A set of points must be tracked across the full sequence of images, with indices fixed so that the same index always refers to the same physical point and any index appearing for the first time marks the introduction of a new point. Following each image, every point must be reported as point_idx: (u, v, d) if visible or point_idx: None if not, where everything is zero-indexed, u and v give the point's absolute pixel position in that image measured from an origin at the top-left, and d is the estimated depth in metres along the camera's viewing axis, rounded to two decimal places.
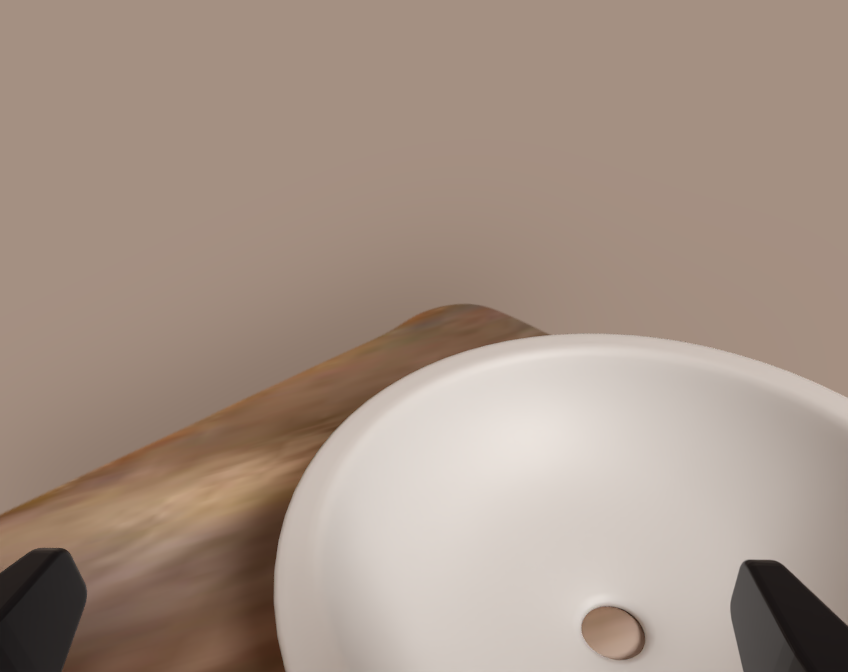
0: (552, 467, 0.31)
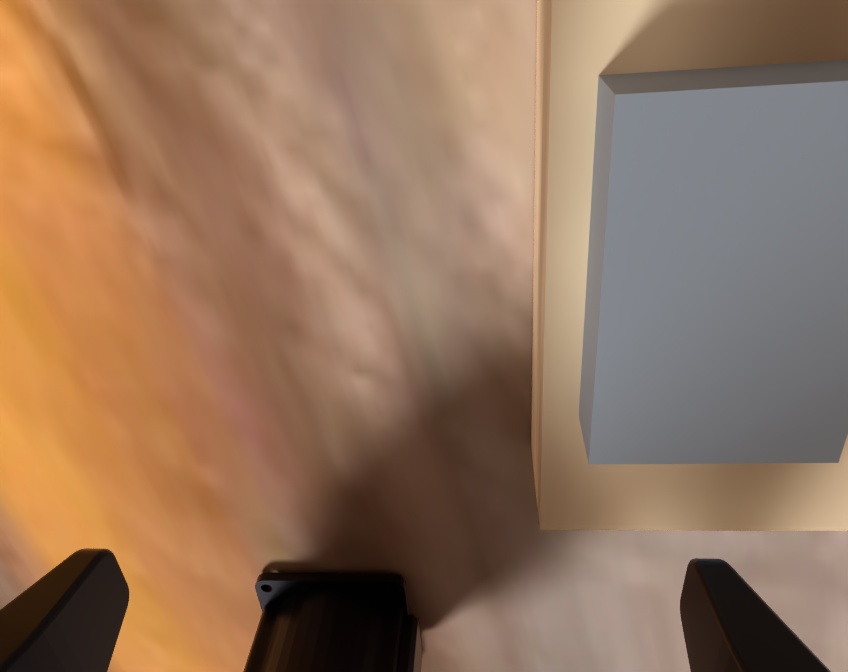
0: None
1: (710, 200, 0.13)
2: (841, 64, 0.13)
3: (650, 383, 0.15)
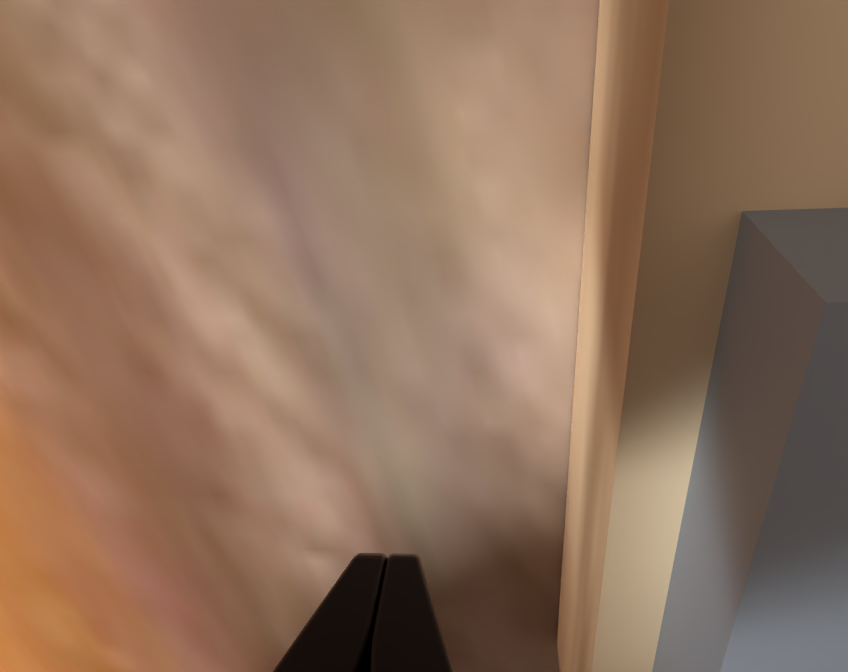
0: None
1: None
2: None
3: None
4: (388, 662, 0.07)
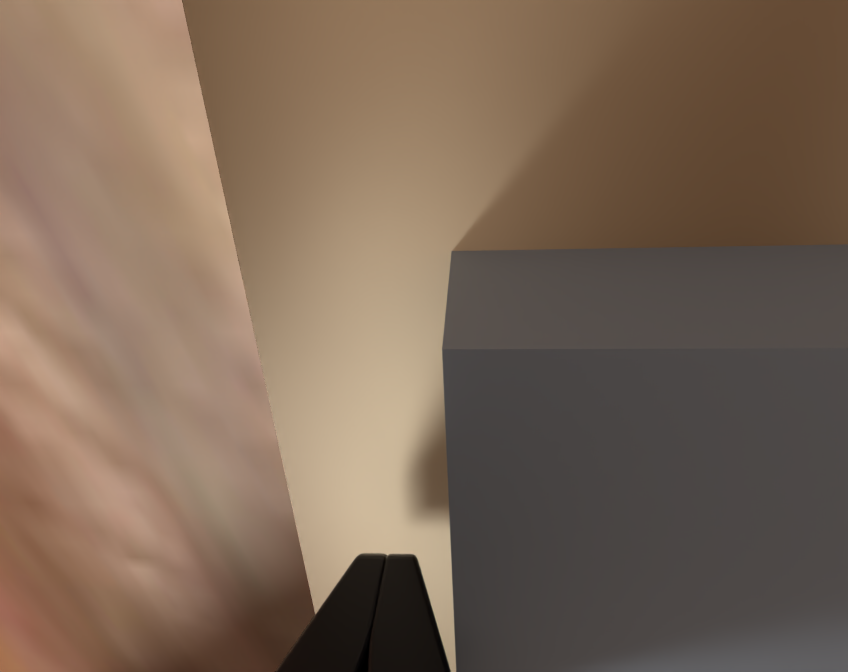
0: None
1: (656, 533, 0.06)
2: None
3: None
4: (386, 662, 0.07)
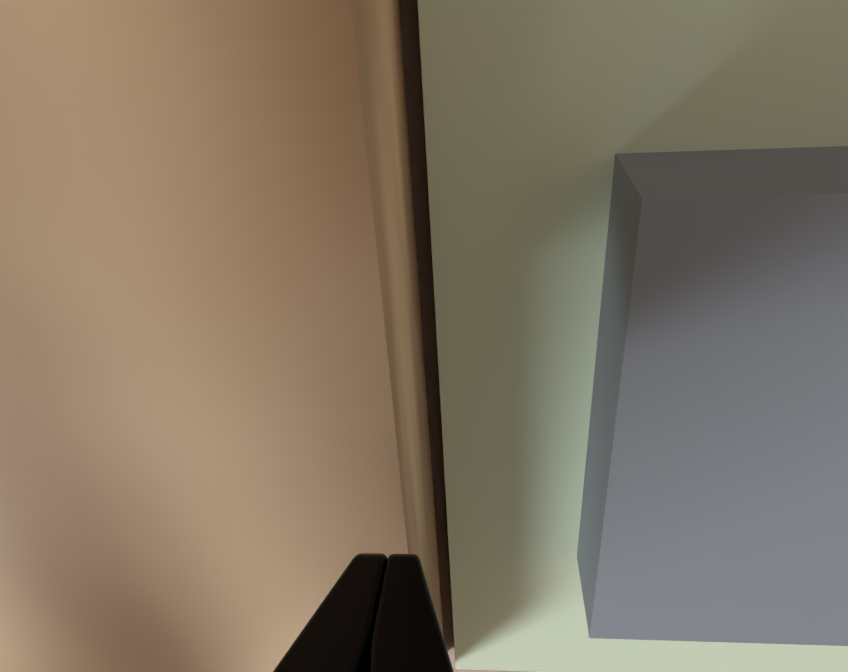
0: None
1: None
2: (741, 183, 0.09)
3: None
4: (388, 662, 0.07)
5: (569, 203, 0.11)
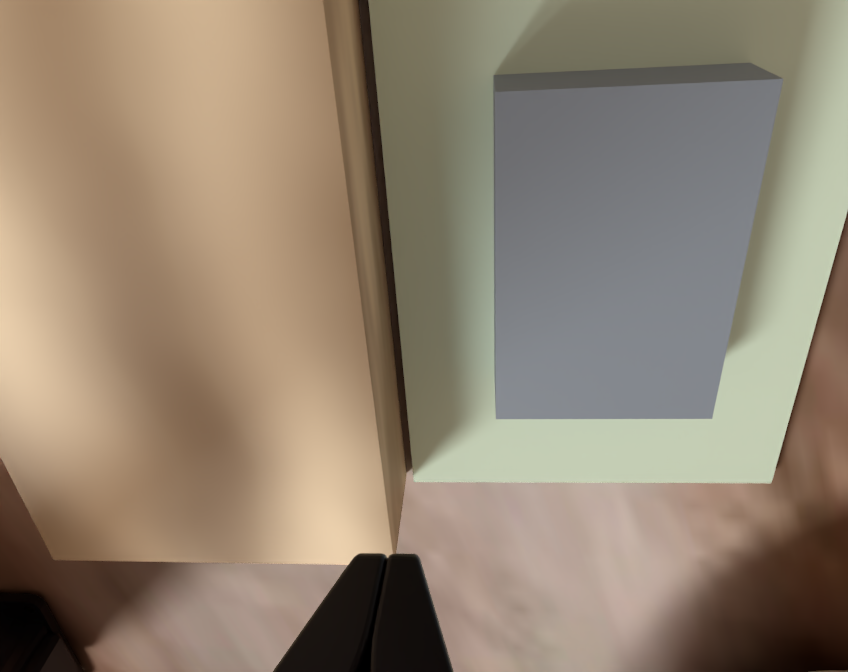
0: None
1: None
2: (556, 84, 0.15)
3: None
4: (388, 662, 0.07)
5: (468, 109, 0.17)
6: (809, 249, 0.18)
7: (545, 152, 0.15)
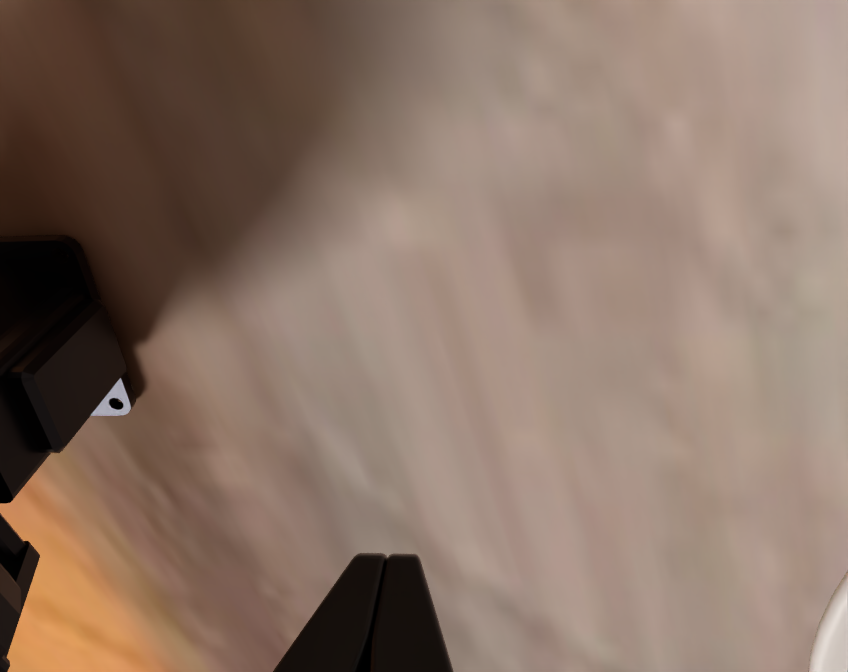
0: None
1: None
2: None
3: None
4: (388, 662, 0.07)
5: None
6: None
7: None
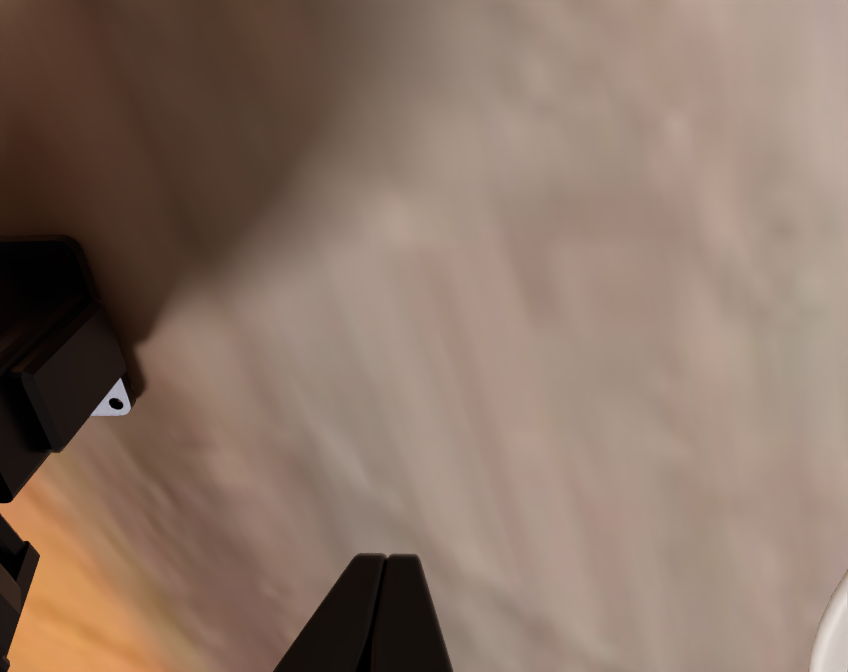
0: None
1: None
2: None
3: None
4: (388, 662, 0.07)
5: None
6: None
7: None
